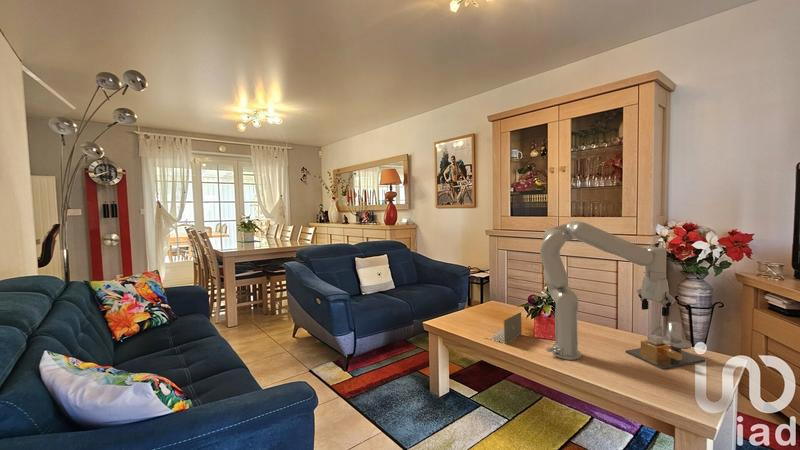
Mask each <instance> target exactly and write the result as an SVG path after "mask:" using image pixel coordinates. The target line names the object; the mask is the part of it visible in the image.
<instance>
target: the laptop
mask: <svg viewBox="0 0 800 450" xmlns="http://www.w3.org/2000/svg"><path fill="white" fill-rule="evenodd" d="M498 331H499V332H498ZM522 331H523V330H522V312H518V313H516V314H515V315H512V316H510V317H508V318H505V319H504V320H503V328H499V329H498V330H497V331H494V332H492V333H493V334H494V333H495V334H496V335H497V336H496V335H493V336H494V337H492V338H493V339H494V341H493V342H497V343H499V341H500V342H501V343H500V344H503V343H504V344H503V345H506V344H507V342H508V343H509V342H511V341H513V340H514V339H516V338H518V337H519V335H520V336H521V335H522ZM496 332H497V333H496ZM499 333H500V335H499ZM503 333H504V334H503ZM501 334H502V335H503V336H504V337H503V336H502V335H501ZM500 336H501V337H502V338H501V337H500ZM517 336H518V337H517ZM492 338H491V339H492ZM512 339H513V340H512ZM496 340H497V341H496ZM510 340H511V341H510ZM505 343H506V344H505Z"/></svg>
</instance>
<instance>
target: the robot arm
mask: <svg viewBox="0 0 800 450" xmlns="http://www.w3.org/2000/svg"><path fill="white" fill-rule="evenodd" d="M542 239H543V241H542V243H541V246H540V251H539V256H540V259H541V260H540V261H541V263H542V266H543V272H542V273H543V274H542V275H543V278H544V282H545V285H546V286H547V290H548V292H549V294H550V296H551V299H552V300H553V301H554V302H555V308H554V309H555V310H554V325H555V326H554V328H555V329H554V333H555V337H554V338H555V343H554V344H553V346H552V347H546V351H547V353H551V354H553V355H554V356H555V357H556V358H559V359H563V360H570V361H571V360H572V361H573V360H575V361H576V360H579V359H581V358H582V352H581V351H579V349H578V347H579V346H578V342H579V341H578V310H579V298H578V296H577V294H576V293H575V291H573V290H572V289H571V288H570V287H569V284H568V282H569V275H568V273H567V270H566V269H565V266H564V263H563V261H562V257H561V249H562V247H563V246H564V245H565V243H566V242H569V241H572V240H577V241H579V242H582V243H584V244H587V245H588V246H591V247H594V248H596V249H598V250H600V251H603V252H605V253H608V254H611V255H615V256H618V257H620V258H623V259H624V260H627V261H628V262H630V263H633V264H635V265H637V266H641V267H645V268H644V269H645V270H643V273H644V276H643V278H642V281H641V288H639V289H637V290H636V293H637V294H638V297H639V298H640V301H641V310H643V311H645V310H649V301H653V302H657V303H661V305H662V307H661V316H662V317H668V316H670V308H671V307H672V306H674V303H675V302H676V298H675V297H674V296H672V295H671V294H670V288H669V287H670V286H669V282H668V279H667V250H666V248H664V247H659V246H651V247H645V246H643V247H642V246H640V245H637V244H635V243H633V242H631V241H628V240H626V239H624V238H621V237H619V236H617V235H615V234H613V233H610V232H608V231H605V230H603V229H601V228H598V227H596V226H593V225H591V224H589V223H587V222H583V221H579V220H575V221H574V220H573V221H570V222H567V223H564V224H560V225H557V226H553V227H550V228H547V229H546V230H545V231H544V232H543V234H542ZM553 355H552V356H553Z"/></svg>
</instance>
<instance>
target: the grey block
mask: <svg viewBox="0 0 800 450" xmlns="http://www.w3.org/2000/svg"><path fill="white" fill-rule="evenodd" d="M647 340H648V343H649V344H652V345H654V346H662V345H663V338H662V336H659V335H656V334H651V335H650V334H649V335H648V336H647Z"/></svg>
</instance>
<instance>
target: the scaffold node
mask: <svg viewBox="0 0 800 450" xmlns="http://www.w3.org/2000/svg"><path fill="white" fill-rule="evenodd" d="M661 337H662V338H663V345H662V346H654V345H652V344H649V343H648V339H647V340H640V347H638V348H635V349H634V348H633V349H628V350H627V349H626V350H625V353H626V354H628V355H630V356H632V357H635V358H636V359H639V360H640V361H643V362H645V363H648V364H650V365H652V366H653V367H656V368H658V369H660V370H668V369H673V368H677V367H684V366H688V365H695V364H699V363H700V364H701V363H704V362H706V358H703V357H701V356H698V355H696V354H693V353H690V352H687V351H685V350H688V349H691V348H692V343H691V341H689V340H687V339H685V338H682V323H681V322H678V321H672V320H671V321H668V322H667V335H663V336H661Z"/></svg>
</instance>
